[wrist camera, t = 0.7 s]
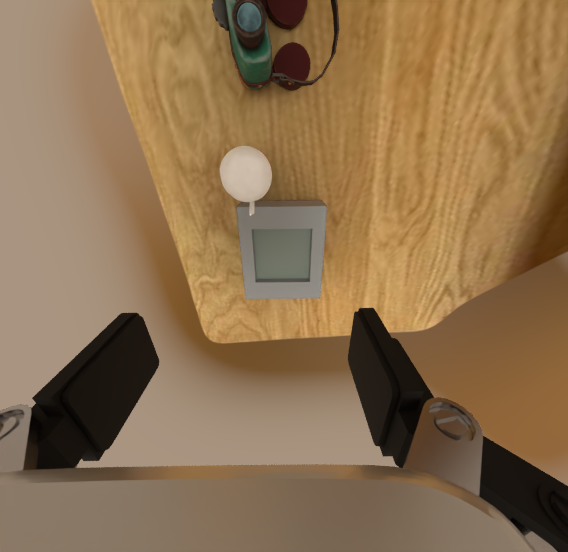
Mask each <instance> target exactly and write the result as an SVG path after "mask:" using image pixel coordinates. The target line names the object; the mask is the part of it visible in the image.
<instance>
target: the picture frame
mask: <svg viewBox="0 0 568 552" xmlns="http://www.w3.org/2000/svg"><path fill="white" fill-rule="evenodd" d="M249 206H250V202H241V203H240V204H239V205H238V206H237V207H236V209H237V219H238V228H239V238H240V248H241V258H242V268H243V278H244V287H245V297H246V299H297V298H320V295H321V281H322V268H323V255H324V241H325V228H326V215H327V206H326V204H325V203H324V202H323V201H322V200H274V201H255V209H254V215H249Z"/></svg>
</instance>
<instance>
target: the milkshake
mask: <svg viewBox="0 0 568 552" xmlns="http://www.w3.org/2000/svg"><path fill="white" fill-rule="evenodd" d="M220 177H221V181H222V184H223V187H224V189H225V190H226V191H227V192H228V193H229V194H230V195H231V196H232V197H233V198H235V199H237V200H239V201H242V202H250V206H249V215H254V209H255V201H256V200H259V199H260V198H262V197H263V196H264V195H265V194H266V193H267V191H268V190H269V188H270V185H271V182H272V171H271V166H270V163H269V161H268V159H267V158H266V156H265V155H264V154H263V153H262V152H260V151H259V150H257V149H255V148H253V147H250V146H239V147H236V148H234V149H232V150H230V151H229V152H228V153H227V154H226V155H225V157H224V158H223V160H222V162H221V165H220Z"/></svg>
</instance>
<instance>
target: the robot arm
mask: <svg viewBox="0 0 568 552" xmlns="http://www.w3.org/2000/svg"><path fill="white" fill-rule="evenodd" d="M348 362H349V366H350V369H351V372H352V375H353V379H354V382H355V385H356V388H357V391H358V395H359V397H360V401H361V404H362V407H363V410H364V413H365V417H366V420H367V423H368V426H369V429H370V432H371V435H372V439H373V442H374V444H375V445H376V446H380V449H381V451H382V455H383V456H393V458H394V461H395V464H396V465H397V466H399V467H389V466H375V465H226V466H225V465H222V466H159V467H157V466H156V467H104V468H77V464H78V463H79V461H80V460H81V458H82V459H83V461H99V460H100V458H101V456H102V455H103V453H104V451H105V450H107V449H109V448H110V446H111V445H112V443H113V442H114V440H115V438H116V437H117V435H118V433H119V432H120V430H121V428H122V427H123V425H124V423H125V422H126V420H127V418H128V417H129V415H130V413H131V412H132V410H133V408H134V407H135V405H136V403H137V402H138V400H139V398H140V397H141V395H142V393H143V391H144V390H145V388H146V387H147V385H148V383H149V382H150V380H151V378H152V377H153V375H154V373H155V371H156V369H157V368H158V366H159V358H158V356H157V354H156V351H155V348H154V345H153V343H152V340H151V338H150V335H149V332H148V330H147V327H146V325H145V322H144V319H143V318H142V317H141V316H139V314H138V313H121V314H120V315H119V316H118V317H117V318H116V319H115V320H114V321H113V322H111V323H110V324H109V325H108V326H107V327H106V328H105V329H104V330H103V331H102V332H101V333H100V334H99V335H98V336H97V337H96V338H95V339H94V340H93V341H92V342H91V343H90V344H88V346H86V347H85V348H84V349H83V350H82V351H81V352H80V353H79V354H78V355H77V356H76V357H75V358H74V359H73V360H72V361H71V362H70V363H69V364H67V366H65V367H64V368H63V369H62V370H61V371H60V372H59V373H58V374H57V375H56V376H55V377H54V378H53V379H52V380H51V381H50V382H49V383H48V384H47V385H46V386H44V387H43V388H42V389H41V390H40V391H39V392H38V393H37V394H36V395H35V396H34V397H33V398H32V399H33V400H34V401H35V402H36V404H35V405H34V406H33V407H32V408H31V407H29V406H28V405H16V406H12V407H9V408H6V409H3V410H1V411H0V552H568V486H567V485H565V484H563V483H561V482H560V481H558V480H556V479H555V478H553V477H551V476H550V475H548V474H546V473H545V472H543V471H541V470H540V469H538V468H536V467H535V466H533V465H531V464H530V463H528V462H526V461H525V460H523V459H521V458H519V457H518V456H516V455H515V454H513V453H511V452H510V451H508V450H506V449H505V448H503V447H501V446H499V445H498V444H496V443H494V442H493V441H491V440H489V439H487V438H486V437H484V436H483V434H482V429H481V427H480V425H479V423H478V422H477V420H476V419H475V418H474V417H473V415H472V414H471V413H469V412H468V411H467V410H466V409H465V408H464V407H462V406H460V405H459V404H457V403H455V402H453V401H450V400H448V399H444V398H439V397H438V398H434V397H433V395H432V393H431V392H430V390H429V389H428V387H427V386H426V384H425V383H424V381H423V379H422V377H421V376H420V374H419V373H418V371H417V370H416V368H415V367H414V365H413V363H412V362H411V360H410V358H409V357H408V355H407V354H406V352H405V351H404V349H403V347H402V346H401V344H400V343H399V341H398V340H397V339H395V338H391V336H390V334H389V333H388V331H387V329H386V328H385V326H384V324H383V323H382V321H381V319H380V318H379V316H378V314H377V313H376V311H375V309H374V308H360V309H359V311H358V312H355V313H354V319H353V326H352V333H351V339H350V347H349V354H348Z"/></svg>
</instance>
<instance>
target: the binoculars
mask: <svg viewBox="0 0 568 552" xmlns="http://www.w3.org/2000/svg"><path fill="white" fill-rule="evenodd" d="M331 5H332V11H333V20H334V41H333V47H332V54H331V58H330V59H329V61H328V63H327V65H326V67H325V69H324V71H323V72H322V74H321V75H319V76H318V77H317V78H316V79H315V80H312V81H305V80H306V78H307V76H308V74H309V71H310V58H309V55H308V53H307V51H306V50H305V48H304V47H303V46H301V45H300V44H298V43H293V42H292V43H288V44H286V45H284V46H283V47H282V48H281V49H280V50H279V51H278V52H277V54H276V56H275V59H274V63H273V67H272V48H271V41H270V36H269V31H268V26H267V21H266V11H268V14H269V16H270V17H271V19H272V20H273V21H274V22H275V23H276V24H277V25H278V26H280V27H282V28H284V29H291V28H293V27H295V26H296V25H297V24H298V23H299V22H300V20H301V19H302V17H303V16H304V14H305V11H306V7H307V0H213V4H212V8H213V12H214V16H215V19H216V21H218V22H219V26H220V27H221V28H222V27H223V28H225V30H226V31H228V30H229V37H230V44H231V51H232V54H233V57H234V60H235V63H236V64H235V67H236V68H237V69H238V74H239V77H240V80H241V82H242V84H243V85H244V86H245V87H246V88H248V89H250V90H255V89H260V88H263V87H266V86H267V85H268V84H269V83H270V81H273V82H276V83H279V84H280V85H281V86H283V87H284V88H286V89H289V90H295V89H298V88H300V87H301V86H307V85H312V84H314V83H315V82H316V81H317V80H318V79H319V78H321V77H322V76H323V74H324V73H325V71H326V69H327V67H328V65H329V64H330V62H331V60H332V58H333V56H334V54H335V52H336V46H337V40H338V33H339V17H338V5H337V0H331ZM233 51H234V52H233Z"/></svg>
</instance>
